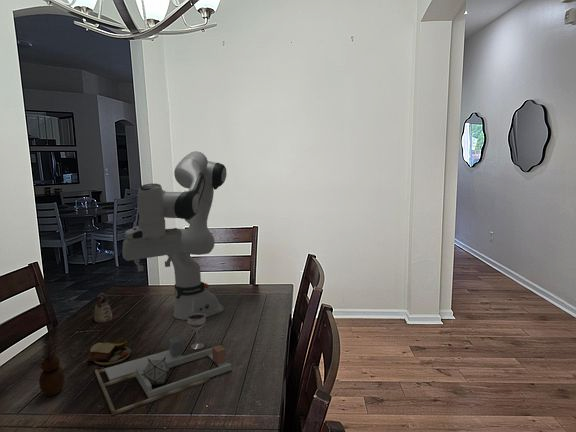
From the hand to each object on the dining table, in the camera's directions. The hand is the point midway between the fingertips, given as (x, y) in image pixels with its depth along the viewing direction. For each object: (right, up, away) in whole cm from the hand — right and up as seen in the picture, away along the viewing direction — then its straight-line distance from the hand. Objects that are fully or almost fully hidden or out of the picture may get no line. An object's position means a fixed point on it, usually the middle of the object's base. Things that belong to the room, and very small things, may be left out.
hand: (154, 268), depth 138 cm
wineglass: (+13, -30, +8) cm, 34 cm away
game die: (+6, -34, -16) cm, 38 cm away
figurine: (-33, -27, +32) cm, 54 cm away
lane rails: (+4, -33, -12) cm, 36 cm away
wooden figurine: (-24, -35, -21) cm, 47 cm away
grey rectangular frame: (+14, -33, -11) cm, 37 cm away
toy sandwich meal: (-16, -32, 0) cm, 36 cm away
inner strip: (-1, -32, -6) cm, 33 cm away
